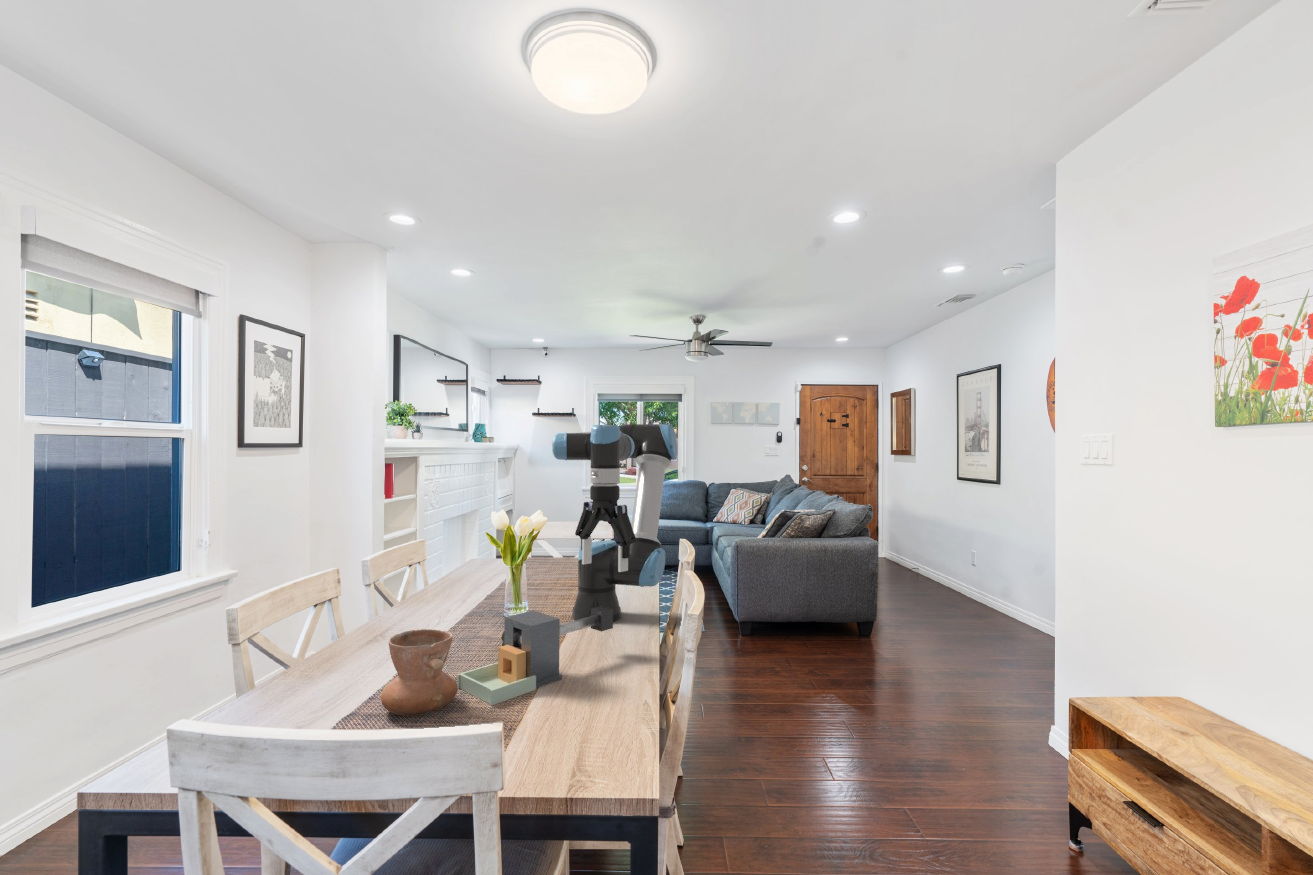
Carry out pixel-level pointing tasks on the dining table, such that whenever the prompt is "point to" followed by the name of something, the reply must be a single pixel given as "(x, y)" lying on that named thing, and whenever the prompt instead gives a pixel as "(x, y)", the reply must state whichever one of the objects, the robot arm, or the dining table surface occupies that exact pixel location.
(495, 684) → the tray
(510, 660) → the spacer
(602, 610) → the shaft
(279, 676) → the dining table surface
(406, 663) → the ceramic jug
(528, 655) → the bearing block
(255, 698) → the dining table surface
